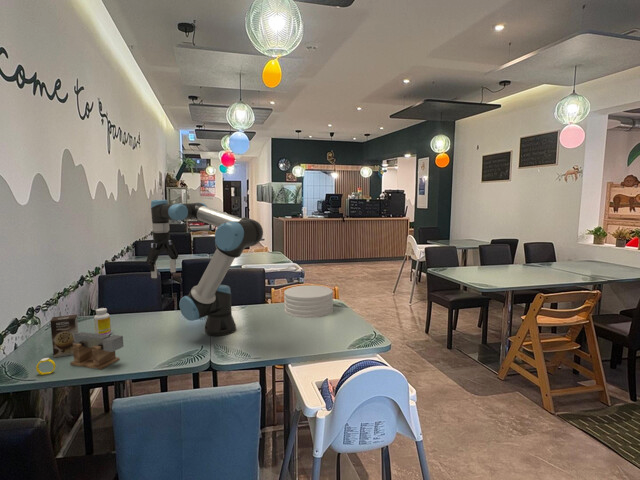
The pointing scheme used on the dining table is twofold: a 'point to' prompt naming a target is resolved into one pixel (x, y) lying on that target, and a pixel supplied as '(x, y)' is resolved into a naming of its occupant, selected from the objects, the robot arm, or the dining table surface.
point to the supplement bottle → (102, 322)
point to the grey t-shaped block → (100, 341)
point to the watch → (45, 361)
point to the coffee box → (63, 334)
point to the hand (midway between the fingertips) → (164, 275)
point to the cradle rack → (92, 357)
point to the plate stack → (308, 301)
